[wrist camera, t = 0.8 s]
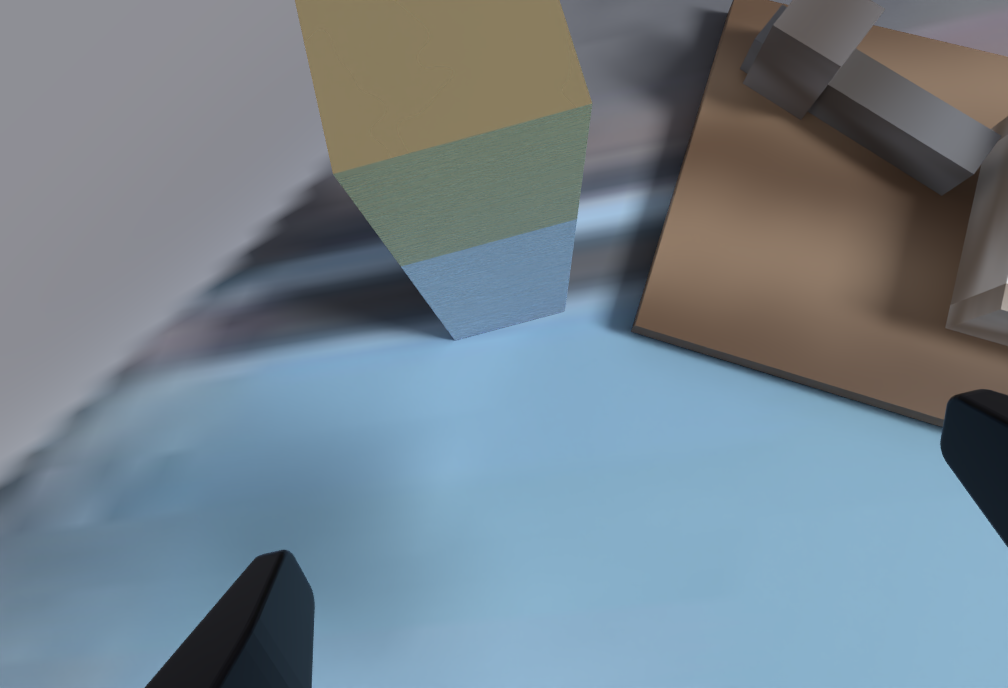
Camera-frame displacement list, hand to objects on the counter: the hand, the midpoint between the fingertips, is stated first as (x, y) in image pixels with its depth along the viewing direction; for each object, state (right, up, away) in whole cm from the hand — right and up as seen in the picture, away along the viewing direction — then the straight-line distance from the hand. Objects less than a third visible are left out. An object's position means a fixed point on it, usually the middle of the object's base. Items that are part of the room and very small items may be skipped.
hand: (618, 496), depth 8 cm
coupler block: (-2, +5, +14) cm, 15 cm away
